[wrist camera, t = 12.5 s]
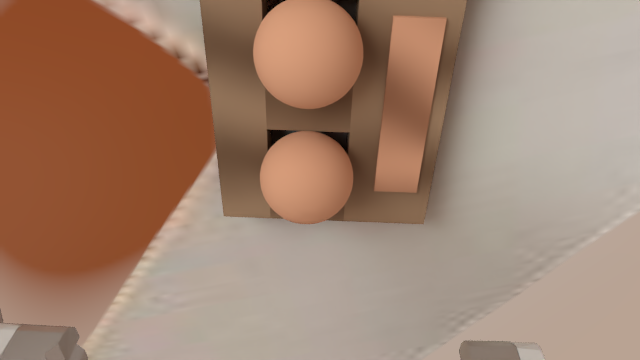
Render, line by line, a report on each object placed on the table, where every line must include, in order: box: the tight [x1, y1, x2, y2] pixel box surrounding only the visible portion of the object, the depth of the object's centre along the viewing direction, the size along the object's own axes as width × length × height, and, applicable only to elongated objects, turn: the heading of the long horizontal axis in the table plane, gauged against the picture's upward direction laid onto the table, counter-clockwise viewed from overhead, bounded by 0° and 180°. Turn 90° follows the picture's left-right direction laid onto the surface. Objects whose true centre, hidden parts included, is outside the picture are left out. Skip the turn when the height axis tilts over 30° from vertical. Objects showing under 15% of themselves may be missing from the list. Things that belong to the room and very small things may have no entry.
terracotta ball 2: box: [260, 131, 353, 224], centre depth 28 cm, size 5×5×5 cm
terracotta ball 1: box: [253, 0, 363, 109], centre depth 24 cm, size 5×5×5 cm
